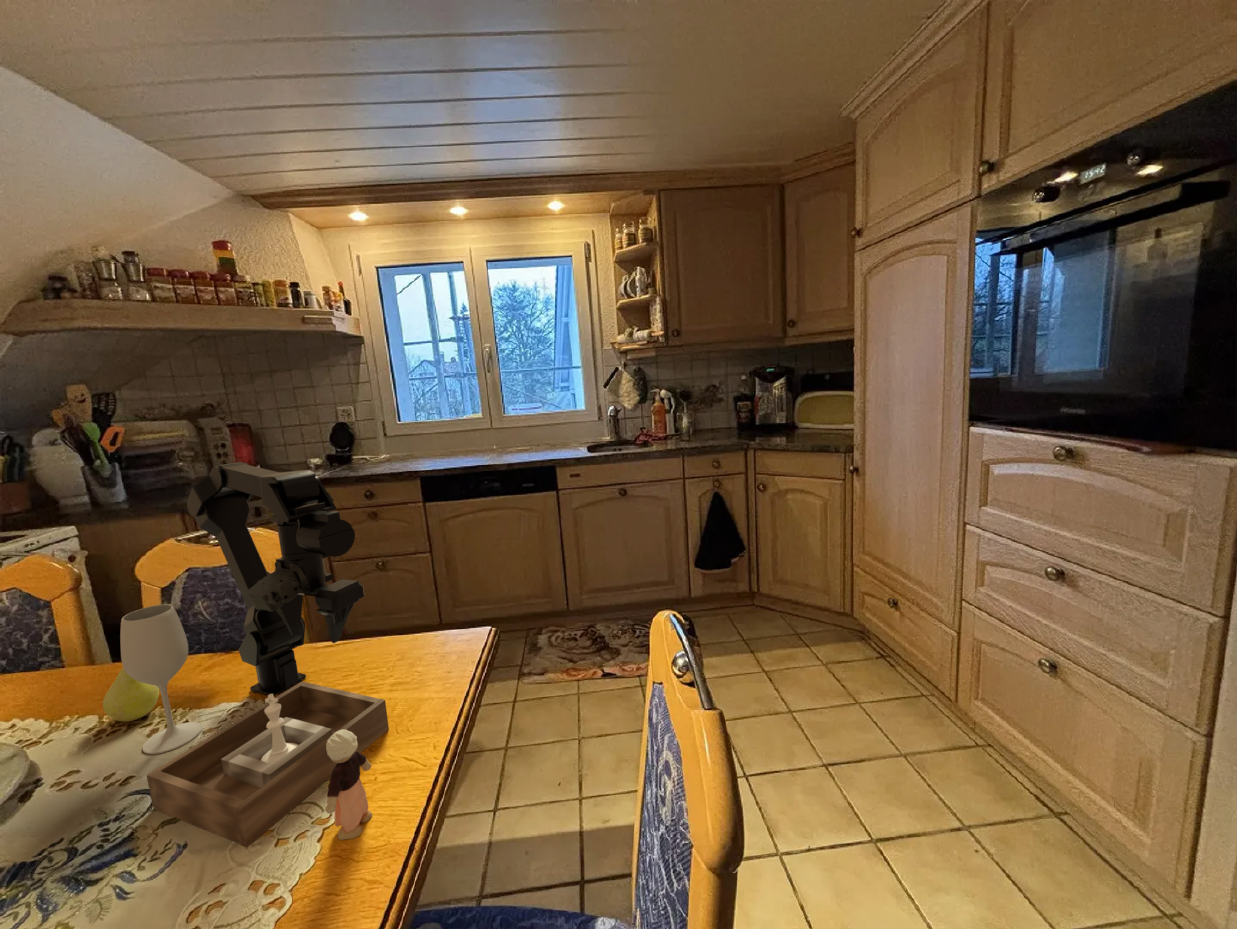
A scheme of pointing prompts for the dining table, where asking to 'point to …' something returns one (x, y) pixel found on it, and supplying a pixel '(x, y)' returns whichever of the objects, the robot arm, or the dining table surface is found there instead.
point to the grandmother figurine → (347, 785)
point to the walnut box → (263, 763)
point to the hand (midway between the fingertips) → (315, 638)
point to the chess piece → (276, 732)
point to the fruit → (129, 698)
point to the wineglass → (157, 665)
